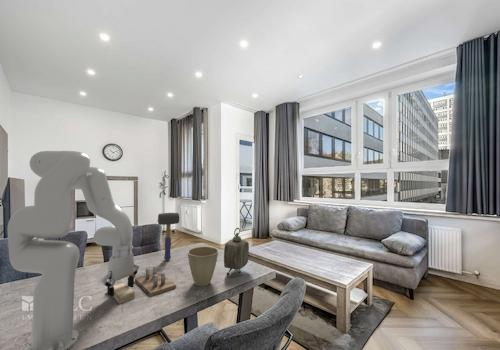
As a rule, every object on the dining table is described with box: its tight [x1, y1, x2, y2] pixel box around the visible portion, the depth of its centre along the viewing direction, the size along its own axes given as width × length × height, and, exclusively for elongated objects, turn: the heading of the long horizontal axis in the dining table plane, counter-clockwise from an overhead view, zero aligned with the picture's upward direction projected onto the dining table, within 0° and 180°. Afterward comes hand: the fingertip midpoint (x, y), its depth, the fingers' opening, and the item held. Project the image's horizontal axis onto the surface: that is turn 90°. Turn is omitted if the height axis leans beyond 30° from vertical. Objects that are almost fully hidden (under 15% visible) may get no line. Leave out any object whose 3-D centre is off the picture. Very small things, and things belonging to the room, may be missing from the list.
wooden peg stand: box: [134, 266, 177, 297], centre depth 111 cm, size 20×12×6 cm, turn 44°
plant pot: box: [187, 246, 219, 287], centre depth 114 cm, size 15×15×16 cm
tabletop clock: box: [223, 227, 250, 276], centre depth 127 cm, size 14×9×25 cm, turn 159°
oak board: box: [112, 281, 136, 304], centre depth 100 cm, size 14×6×3 cm, turn 50°
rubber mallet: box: [157, 212, 180, 262], centre depth 145 cm, size 12×8×30 cm, turn 119°
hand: (121, 291), depth 101 cm, fingers open, 8 cm apart
